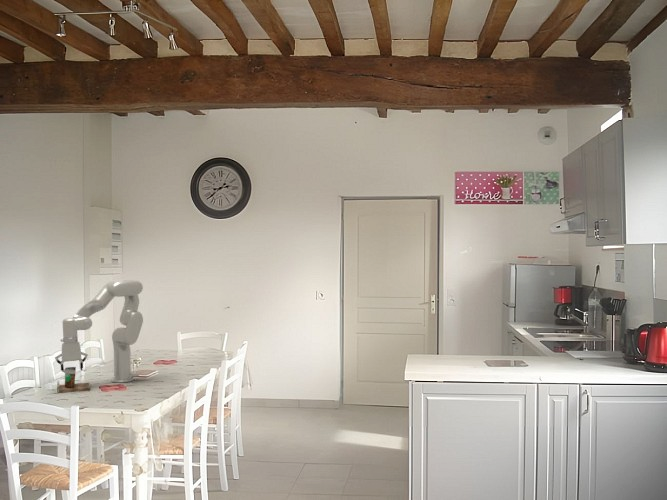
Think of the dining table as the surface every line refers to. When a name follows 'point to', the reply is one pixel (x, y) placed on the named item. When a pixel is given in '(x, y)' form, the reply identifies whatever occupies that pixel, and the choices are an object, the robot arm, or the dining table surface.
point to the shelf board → (76, 388)
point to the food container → (70, 377)
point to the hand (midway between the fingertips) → (72, 370)
